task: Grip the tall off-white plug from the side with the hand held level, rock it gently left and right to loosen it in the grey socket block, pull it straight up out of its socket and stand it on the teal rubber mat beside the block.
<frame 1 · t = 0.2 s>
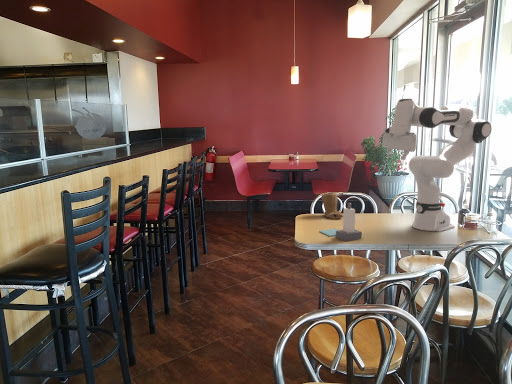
hand: (396, 158, 207), 39 cm above the table, tool pointing down, fingers open, 8 cm apart
plug: (348, 220, 203), in the grey socket block
mat: (332, 233, 214), on the table
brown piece: (331, 217, 250), on the table
grey socket block: (348, 238, 205), on the table
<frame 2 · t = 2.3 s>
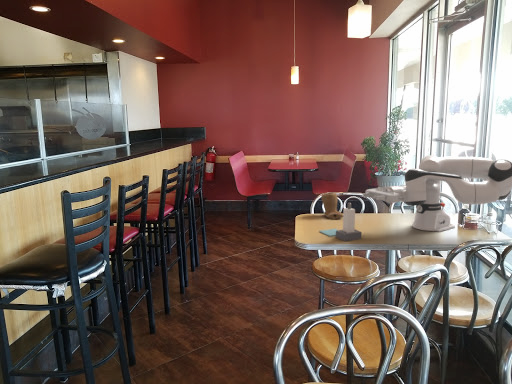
hand: (369, 196, 205), 20 cm above the table, tool horizontal, fingers open, 8 cm apart
nothing on the table moved.
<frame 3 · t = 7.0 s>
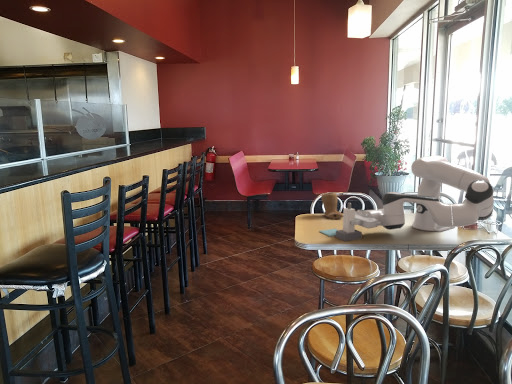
hand: (347, 221, 203), 9 cm above the table, tool horizontal, fingers closed on plug, 4 cm apart
plug: (348, 220, 203), in the grey socket block, touching gripper
everything else where it was.
when the fingers open (10 cm above the table, at t = 12.8 s): plug drops 1 cm, resting on mat.
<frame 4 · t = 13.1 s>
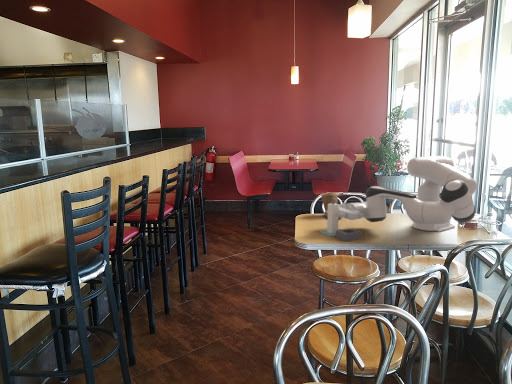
hand: (331, 213, 212), 10 cm above the table, tool horizontal, fingers open, 7 cm apart
plug: (333, 215, 212), on the mat, point 10 cm above the table
everything else where it was.
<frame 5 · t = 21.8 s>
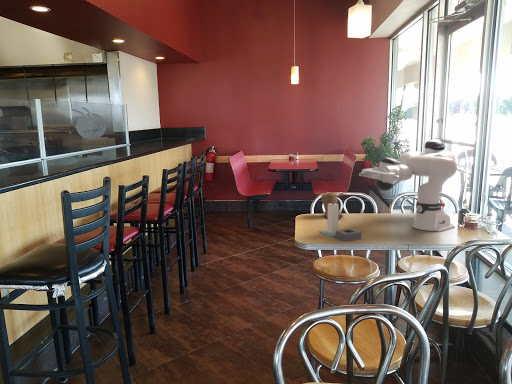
hand: (365, 175, 211), 30 cm above the table, tool horizontal, fingers open, 8 cm apart
nothing on the table moved.
at the end: plug inside the target area (0.0 cm from its centre), point 9.6 cm above the table; plug tilted 0°; the gripper is holding nothing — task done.
